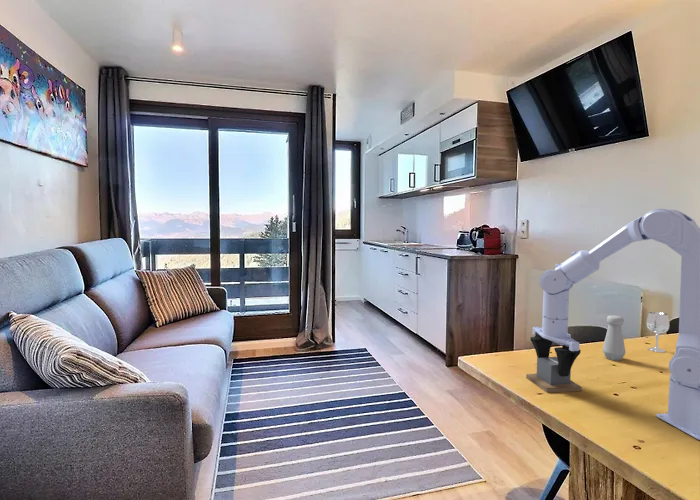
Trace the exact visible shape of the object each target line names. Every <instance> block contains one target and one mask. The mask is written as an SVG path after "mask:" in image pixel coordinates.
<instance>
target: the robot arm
mask: <svg viewBox="0 0 700 500" xmlns="http://www.w3.org/2000/svg"><path fill="white" fill-rule="evenodd" d="M648 240H653V241H655V242H658V243H662V244H664V245H666V246H668V247H669V248H670V249H672V251H674V252H675V253H677V254H678V255H680V256H681V260H680V261H681V262H680V264H681V267H680V293H679V316H678V317H679V319H678V321H679V322H678V337H677V340H676V345H675V353H674V355H673V356H672V357H671V359H670V360H669V363H668V370H669V372H670V375H669V386H668V401H667V402H668V405H667V413H656V414H655V416H656V418H658V419H660V420H662V421H664V422H665V423H667V424H670V425H671V426H673V427H675V428H676V429H678V430H680V431H682V432H684V433H686V434H687V435H689V436H690V437H692V438H694V439H697V440H699V441H700V226H699V225H698V224H697V222H696V220H695V219H694V218H692V217H690V216H689V215H688V214H686V213H683V212H681V211H679V210H677V209H666V208H655V209H652V210H649V211H648V212H647V213H645V214H644V215H643V216H639V217H638V218H637V217H636V219H634V220H632V221H630V222H629V223H627V224H625V225H624V226H622V227H621V228H620V229H619V230H617V231H615V232H614V233H613V234H611V235H610V236H609V237H607V238H606V239H604V240H603V241H602V242H601V243H599V244H598V245H596V246H595V247H593V248H592V249H591V250H585V249H581V250H579V251H577V250H575V251H573V252H570V257H569V258H567V259H565V260H564V261H563V262H561V263H556V264H555V265H554V267H555V268H554V269H547V270H545V271H544V273H542V274H541V275H540V277H539V286H540V288H541V289H542V290H543V291H542V292H543V293H542V295H543V296H542V297H543V298H542V313H541V314H542V315H541V316H542V319H541V320H542V321H541V327H540V326H533V327H532V335H534V336H531V337H530V342H531V343H532V345H533V347H534V350H535V353H536V357H537V358H543V357H550V351H551V347H552V344H553V343H555V344H557V345H559V346H560V347H559V346H558V347H554V348H553V349H554V352H555V354H556V357H557V358H558V369H559V376H561V377H564V376H569V373H570V370H572V367H573V365H574V362H575V361H576V360H577V358H578V356H579V355H580V354H581V349H580V342H579V341H577V340H575V339H574V338H572V337H571V334H570V333H568V329H569V327H568V326H569V307H570V306H569V305H570V300H569V299H570V297H569V294H570V290H571V289H572V288H573V287H574V285H576V284H578V283H580V282H581V281H583V280H584V279H585V278H587V277H589V276H591V275H592V274H594V273H595V272H598V270H600V269H599V268H600V265H601V262H602V261H604V260H606V259H607V258H609V257H610V256H612V255H614V254H616V253H617V252H619V251H621V250H622V249H624V248H626V247H628V246H629V245H631V244H633V243H635V242H641V241H648Z"/></svg>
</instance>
